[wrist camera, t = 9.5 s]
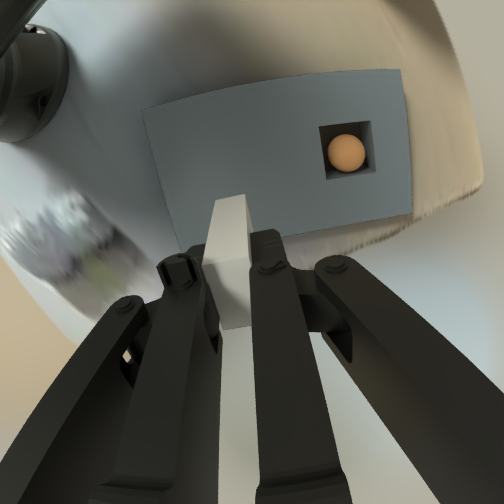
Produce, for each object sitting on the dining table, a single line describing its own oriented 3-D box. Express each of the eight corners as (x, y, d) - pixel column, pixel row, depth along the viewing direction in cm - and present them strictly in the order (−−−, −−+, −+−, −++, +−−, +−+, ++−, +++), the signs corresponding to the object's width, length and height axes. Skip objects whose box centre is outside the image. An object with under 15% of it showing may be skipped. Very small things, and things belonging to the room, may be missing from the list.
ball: (324, 174, 33) (347, 178, 30) (316, 138, 32) (339, 139, 28) (352, 164, 34) (375, 168, 31) (345, 130, 32) (368, 131, 29)
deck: (187, 242, 37) (182, 256, 34) (151, 109, 30) (141, 110, 27) (398, 203, 36) (411, 213, 33) (386, 71, 29) (400, 69, 25)
